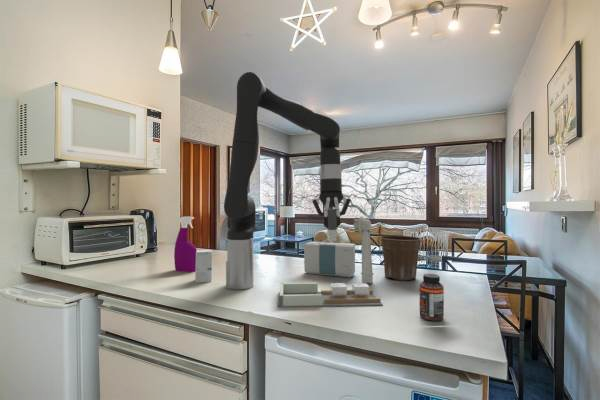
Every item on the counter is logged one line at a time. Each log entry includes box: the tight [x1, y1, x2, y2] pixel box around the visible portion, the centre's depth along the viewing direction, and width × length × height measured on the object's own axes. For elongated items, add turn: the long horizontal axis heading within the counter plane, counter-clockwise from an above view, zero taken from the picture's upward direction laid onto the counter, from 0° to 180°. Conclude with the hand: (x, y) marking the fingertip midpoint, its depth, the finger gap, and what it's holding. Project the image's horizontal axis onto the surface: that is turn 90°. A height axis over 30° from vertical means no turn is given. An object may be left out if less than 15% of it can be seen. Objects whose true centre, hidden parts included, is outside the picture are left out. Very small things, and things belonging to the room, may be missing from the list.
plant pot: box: [379, 235, 423, 281], centre depth 128 cm, size 16×16×16 cm
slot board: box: [277, 289, 384, 308], centre depth 99 cm, size 31×14×1 cm, turn 93°
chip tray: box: [279, 282, 322, 306], centre depth 99 cm, size 12×14×3 cm
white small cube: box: [351, 282, 370, 298], centre depth 100 cm, size 4×4×4 cm
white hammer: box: [353, 216, 374, 285], centre depth 119 cm, size 5×7×25 cm
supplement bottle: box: [419, 273, 445, 322], centre depth 83 cm, size 6×6×11 cm
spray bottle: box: [173, 215, 198, 273], centre depth 136 cm, size 3×11×24 cm, turn 74°
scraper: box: [326, 208, 338, 243], centre depth 110 cm, size 3×6×11 cm, turn 3°
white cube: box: [329, 282, 348, 298], centre depth 99 cm, size 4×4×4 cm
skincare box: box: [194, 249, 214, 283], centre depth 120 cm, size 6×4×12 cm
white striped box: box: [303, 227, 356, 278], centre depth 133 cm, size 21×8×20 cm, turn 67°
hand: (331, 227), depth 110 cm, fingers closed on scraper, 3 cm apart
